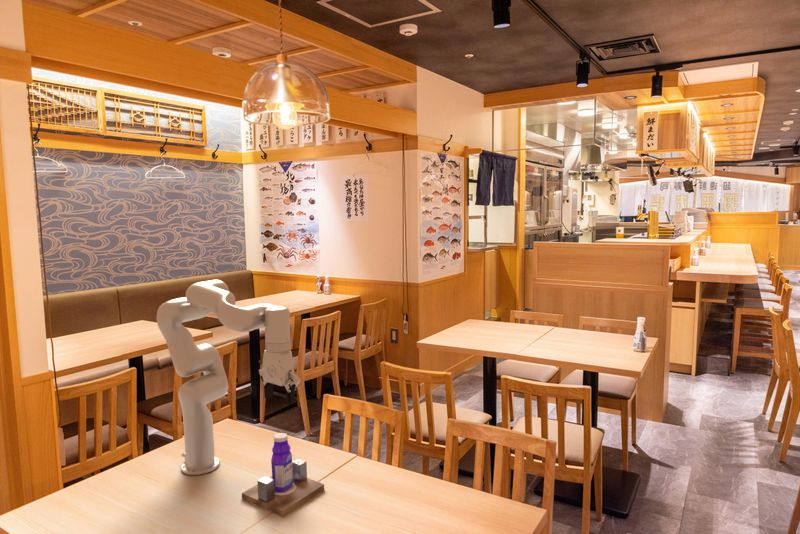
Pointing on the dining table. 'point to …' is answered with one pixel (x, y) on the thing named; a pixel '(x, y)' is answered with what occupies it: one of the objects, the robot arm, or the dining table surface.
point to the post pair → (267, 484)
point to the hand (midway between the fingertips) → (279, 400)
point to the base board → (286, 497)
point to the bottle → (281, 463)
